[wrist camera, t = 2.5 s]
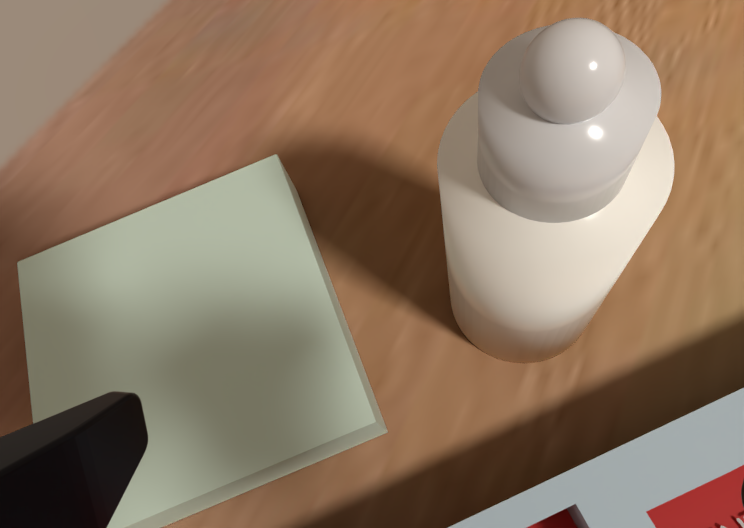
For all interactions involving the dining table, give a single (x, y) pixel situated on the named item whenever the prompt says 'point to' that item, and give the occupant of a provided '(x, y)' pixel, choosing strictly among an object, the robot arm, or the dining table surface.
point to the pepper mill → (550, 186)
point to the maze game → (644, 481)
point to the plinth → (202, 341)
